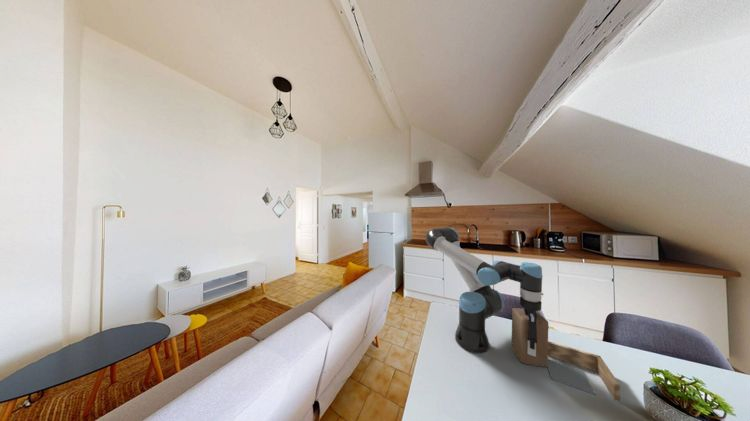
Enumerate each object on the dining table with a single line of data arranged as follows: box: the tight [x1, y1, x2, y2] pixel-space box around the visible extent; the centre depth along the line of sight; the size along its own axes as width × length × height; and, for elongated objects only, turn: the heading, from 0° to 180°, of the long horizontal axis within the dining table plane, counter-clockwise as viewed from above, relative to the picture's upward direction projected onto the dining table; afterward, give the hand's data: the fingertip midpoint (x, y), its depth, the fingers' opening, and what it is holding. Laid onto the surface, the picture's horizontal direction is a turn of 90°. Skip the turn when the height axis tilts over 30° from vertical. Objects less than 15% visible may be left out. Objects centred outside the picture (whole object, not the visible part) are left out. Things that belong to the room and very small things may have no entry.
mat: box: [546, 358, 596, 396], centre depth 78 cm, size 12×12×1 cm
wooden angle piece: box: [548, 340, 621, 402], centre depth 78 cm, size 17×15×6 cm
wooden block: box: [511, 307, 549, 368], centre depth 87 cm, size 10×10×20 cm
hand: (529, 345), depth 87 cm, fingers closed on wooden block, 12 cm apart
